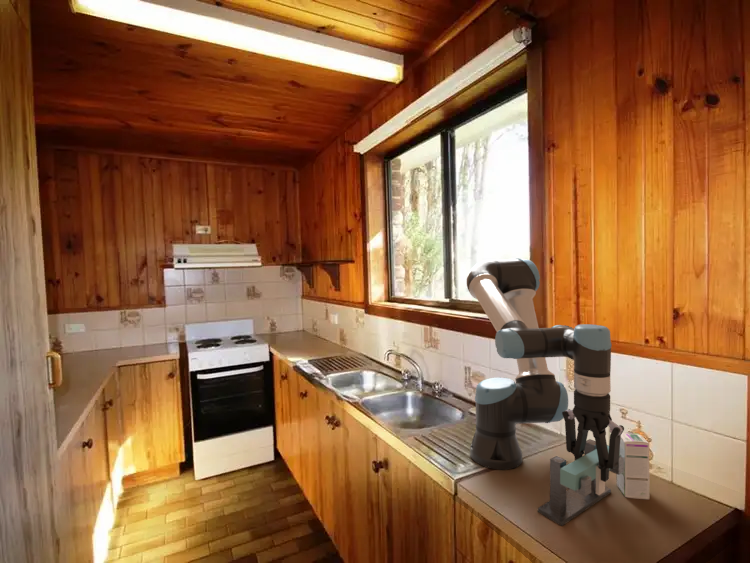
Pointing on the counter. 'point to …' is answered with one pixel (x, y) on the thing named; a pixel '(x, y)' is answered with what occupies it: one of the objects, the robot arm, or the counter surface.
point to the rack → (572, 491)
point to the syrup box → (634, 466)
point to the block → (580, 470)
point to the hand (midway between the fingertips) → (591, 488)
